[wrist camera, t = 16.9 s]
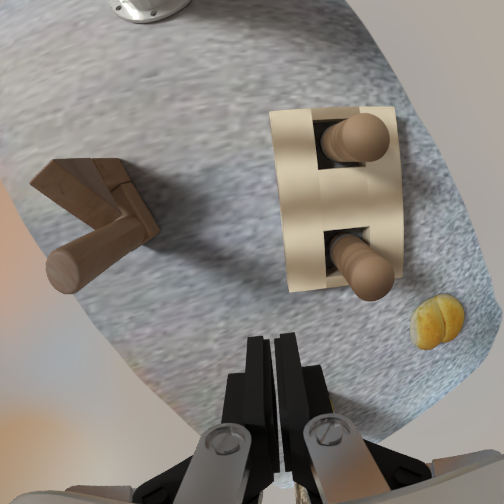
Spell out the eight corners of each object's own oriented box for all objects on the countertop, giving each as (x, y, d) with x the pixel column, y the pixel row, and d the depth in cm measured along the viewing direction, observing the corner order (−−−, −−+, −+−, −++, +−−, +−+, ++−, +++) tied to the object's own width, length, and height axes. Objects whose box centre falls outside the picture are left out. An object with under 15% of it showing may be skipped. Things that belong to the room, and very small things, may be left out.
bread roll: (457, 330, 41) (469, 343, 37) (409, 349, 42) (419, 363, 38) (458, 283, 39) (473, 294, 35) (407, 301, 40) (419, 314, 36)
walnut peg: (323, 229, 37) (350, 259, 25) (356, 226, 37) (396, 254, 25) (325, 263, 38) (351, 305, 27) (357, 259, 38) (394, 298, 26)
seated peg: (313, 128, 34) (339, 112, 22) (348, 126, 34) (387, 111, 22) (318, 163, 35) (345, 164, 23) (352, 161, 35) (393, 162, 23)
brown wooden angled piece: (119, 156, 35) (24, 159, 18) (162, 230, 38) (92, 285, 20) (97, 173, 36) (-1, 188, 18) (139, 245, 38) (62, 305, 21)
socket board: (269, 115, 34) (269, 111, 31) (384, 110, 33) (394, 106, 30) (287, 282, 39) (289, 292, 36) (393, 269, 38) (402, 277, 35)
